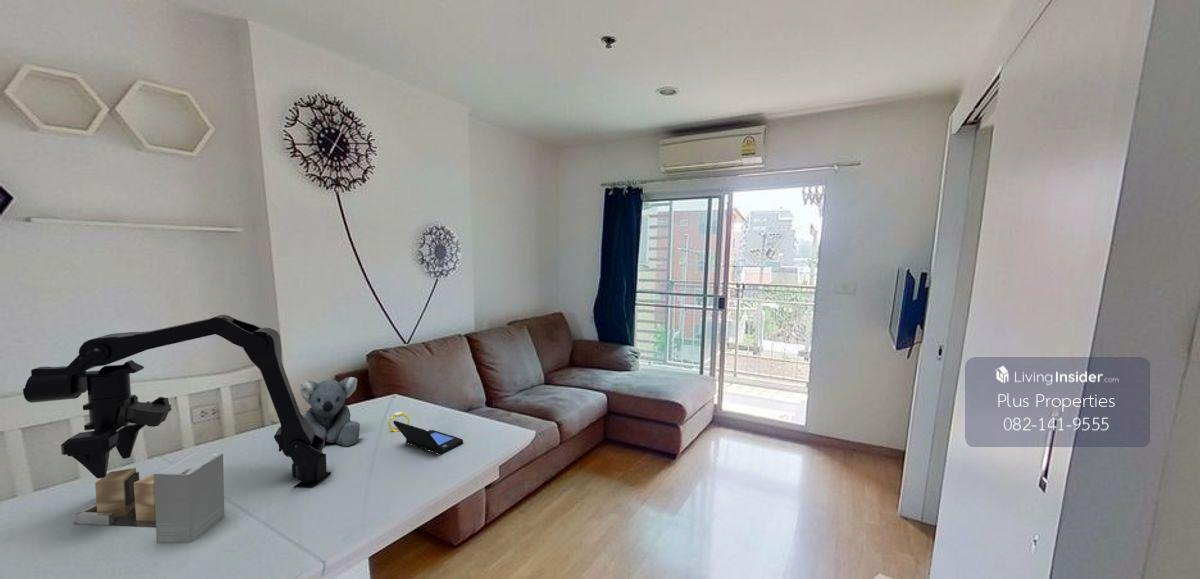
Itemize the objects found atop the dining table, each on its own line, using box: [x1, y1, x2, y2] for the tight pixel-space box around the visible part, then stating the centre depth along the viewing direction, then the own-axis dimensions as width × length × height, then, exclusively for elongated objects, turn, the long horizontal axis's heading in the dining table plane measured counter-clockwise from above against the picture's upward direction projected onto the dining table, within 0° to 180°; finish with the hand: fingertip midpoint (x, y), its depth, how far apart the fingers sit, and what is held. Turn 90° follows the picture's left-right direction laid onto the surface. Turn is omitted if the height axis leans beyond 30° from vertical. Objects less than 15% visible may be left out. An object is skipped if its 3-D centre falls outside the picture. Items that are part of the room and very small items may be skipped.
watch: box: [388, 411, 410, 432], centre depth 133 cm, size 6×3×6 cm, turn 113°
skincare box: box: [152, 451, 225, 545], centre depth 81 cm, size 8×7×16 cm
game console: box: [392, 420, 464, 455], centre depth 123 cm, size 16×14×9 cm
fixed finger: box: [134, 473, 156, 521], centre depth 86 cm, size 5×5×8 cm
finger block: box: [94, 467, 140, 518], centre depth 87 cm, size 5×5×8 cm
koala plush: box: [299, 376, 361, 447], centre depth 126 cm, size 17×18×20 cm
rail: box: [72, 503, 156, 529], centre depth 87 cm, size 18×9×4 cm, turn 88°
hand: (114, 467), depth 86 cm, fingers open, 9 cm apart
